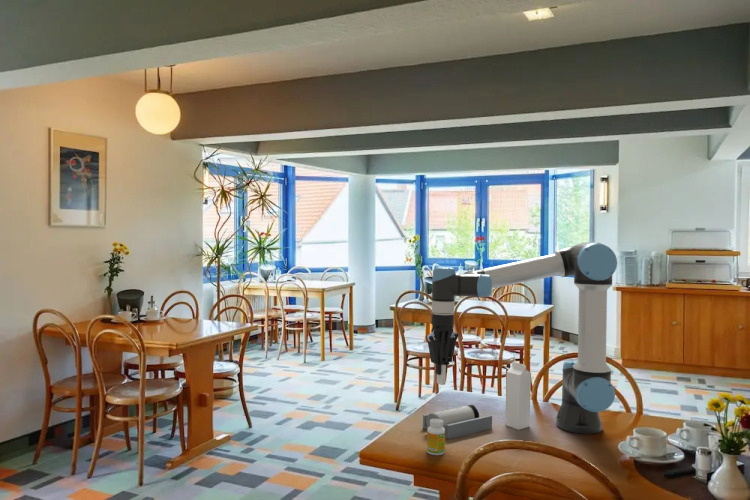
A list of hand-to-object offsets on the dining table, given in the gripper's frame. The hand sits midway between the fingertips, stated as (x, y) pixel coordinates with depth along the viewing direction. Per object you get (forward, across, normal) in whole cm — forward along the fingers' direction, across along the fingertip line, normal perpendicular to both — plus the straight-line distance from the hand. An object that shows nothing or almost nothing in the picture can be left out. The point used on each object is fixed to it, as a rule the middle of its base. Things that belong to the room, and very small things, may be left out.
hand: (441, 383), depth 192 cm
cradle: (+16, -8, 0) cm, 18 cm away
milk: (+17, -28, +9) cm, 34 cm away
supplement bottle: (+17, +13, +13) cm, 25 cm away
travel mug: (+13, +4, +1) cm, 13 cm away
